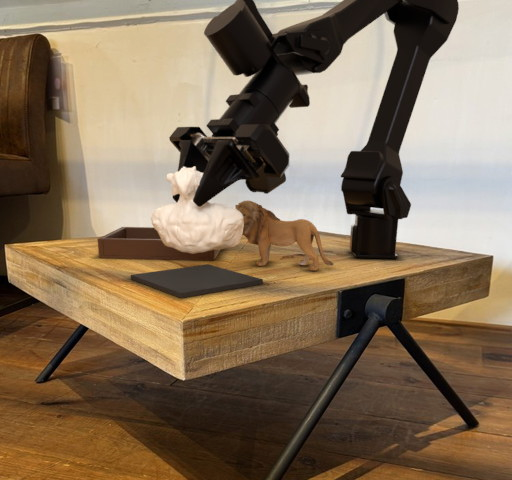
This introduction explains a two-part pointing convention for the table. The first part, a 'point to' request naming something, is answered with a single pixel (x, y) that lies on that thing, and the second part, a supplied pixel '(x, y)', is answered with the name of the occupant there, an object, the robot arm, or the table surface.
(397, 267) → the table surface
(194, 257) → the walnut tray
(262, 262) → the lion figurine
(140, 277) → the charcoal mat
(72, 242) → the table surface
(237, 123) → the robot arm
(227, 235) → the bust
